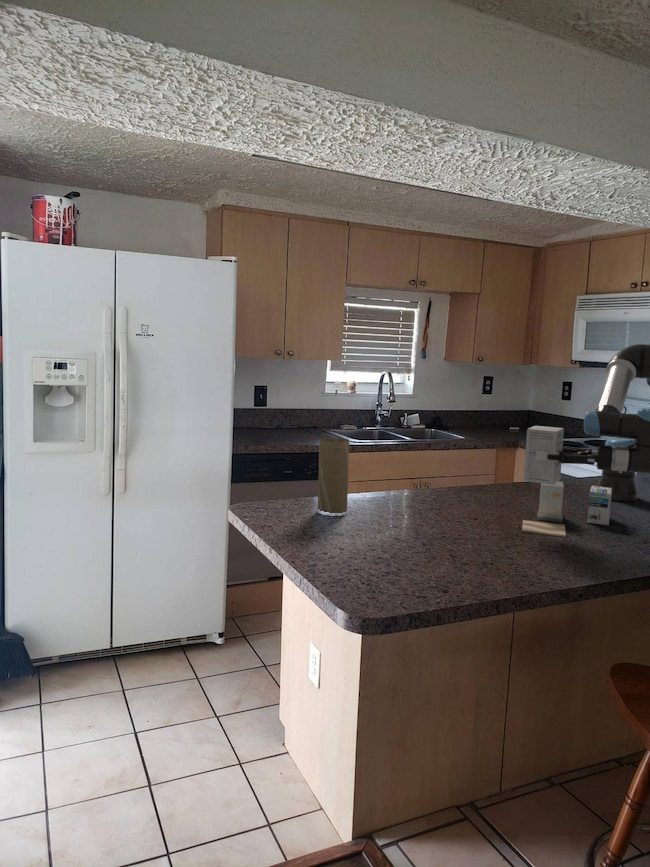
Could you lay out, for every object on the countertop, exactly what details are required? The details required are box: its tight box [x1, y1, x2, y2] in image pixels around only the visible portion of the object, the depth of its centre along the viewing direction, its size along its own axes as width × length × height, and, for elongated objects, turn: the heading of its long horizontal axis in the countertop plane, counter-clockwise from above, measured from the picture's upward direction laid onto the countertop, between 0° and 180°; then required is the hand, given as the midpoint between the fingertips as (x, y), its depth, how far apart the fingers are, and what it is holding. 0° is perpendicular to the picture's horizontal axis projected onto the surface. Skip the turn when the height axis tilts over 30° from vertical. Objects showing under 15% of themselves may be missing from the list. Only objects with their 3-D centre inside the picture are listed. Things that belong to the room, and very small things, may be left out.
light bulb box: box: [587, 485, 612, 526], centre depth 220 cm, size 11×7×11 cm, turn 155°
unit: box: [536, 480, 565, 523], centre depth 221 cm, size 9×8×12 cm
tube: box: [317, 436, 350, 513], centre depth 219 cm, size 10×10×25 cm
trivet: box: [521, 519, 567, 538], centre depth 209 cm, size 12×13×1 cm
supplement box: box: [523, 425, 565, 485], centre depth 205 cm, size 10×9×17 cm
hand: (536, 452), depth 206 cm, fingers closed on supplement box, 11 cm apart
